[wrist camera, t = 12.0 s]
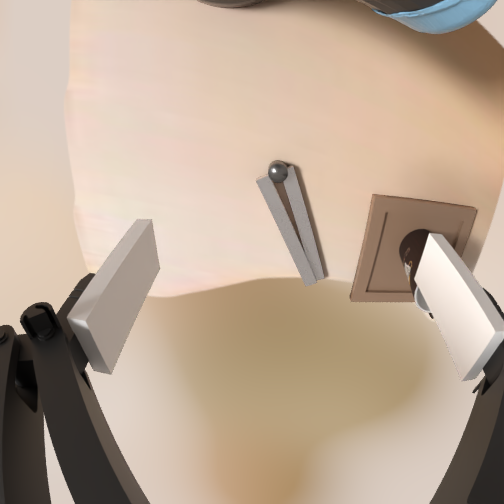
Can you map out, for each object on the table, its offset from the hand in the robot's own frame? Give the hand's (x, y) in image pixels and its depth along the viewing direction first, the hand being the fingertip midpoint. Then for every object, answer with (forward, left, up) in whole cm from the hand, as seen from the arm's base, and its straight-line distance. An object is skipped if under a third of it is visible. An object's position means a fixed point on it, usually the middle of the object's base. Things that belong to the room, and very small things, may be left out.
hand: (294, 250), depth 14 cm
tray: (+16, +22, -27) cm, 38 cm away
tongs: (+13, +3, -27) cm, 30 cm away
